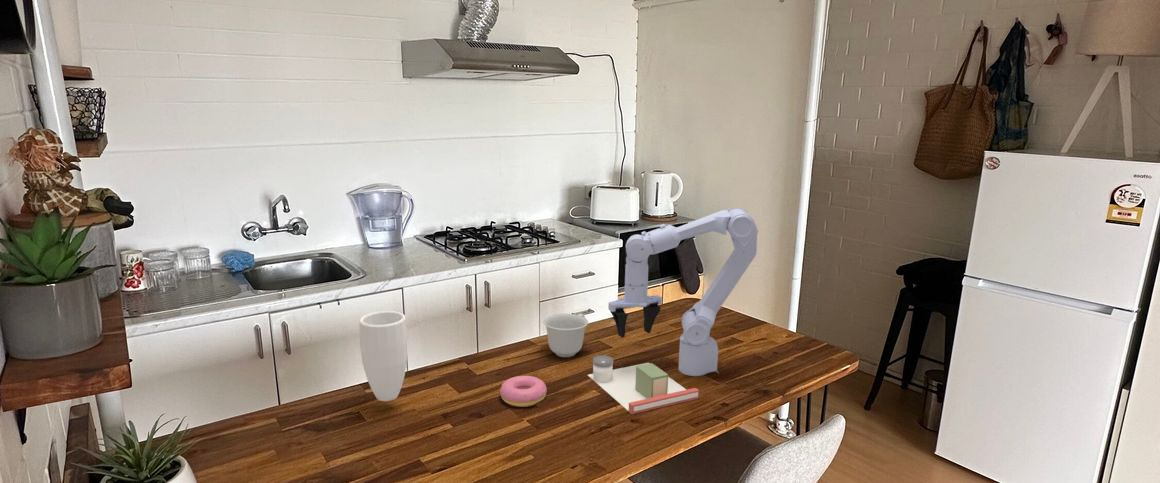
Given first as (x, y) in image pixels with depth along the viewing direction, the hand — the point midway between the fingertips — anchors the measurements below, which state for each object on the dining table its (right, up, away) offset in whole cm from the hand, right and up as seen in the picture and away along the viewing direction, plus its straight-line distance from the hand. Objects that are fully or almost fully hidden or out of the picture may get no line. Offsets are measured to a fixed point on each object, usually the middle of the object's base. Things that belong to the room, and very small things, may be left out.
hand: (634, 334), depth 165 cm
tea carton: (+3, -12, -12) cm, 18 cm away
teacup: (-17, -7, +12) cm, 22 cm away
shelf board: (+1, -12, -8) cm, 15 cm away
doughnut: (-27, -13, -13) cm, 33 cm away
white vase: (-57, -14, -19) cm, 62 cm away
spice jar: (-8, -10, -5) cm, 14 cm away
